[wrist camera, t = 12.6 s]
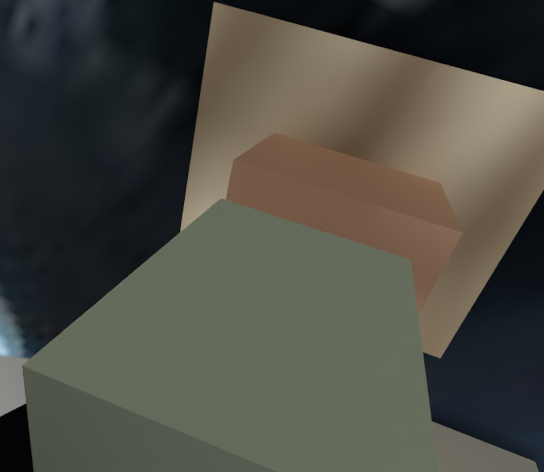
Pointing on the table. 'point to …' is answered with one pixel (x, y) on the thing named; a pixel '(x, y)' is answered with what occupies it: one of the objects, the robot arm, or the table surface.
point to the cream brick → (474, 454)
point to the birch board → (376, 134)
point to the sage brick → (240, 360)
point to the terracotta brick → (350, 202)
